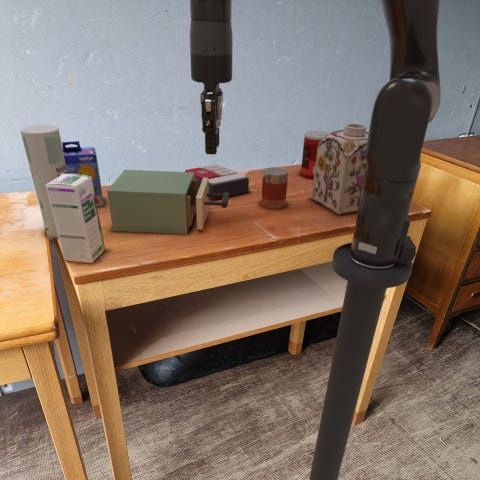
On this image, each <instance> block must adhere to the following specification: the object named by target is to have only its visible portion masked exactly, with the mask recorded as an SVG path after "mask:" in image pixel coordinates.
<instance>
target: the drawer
mask: <svg viewBox="0 0 480 480" xmlns="http://www.w3.org/2000/svg"><path fill="white" fill-rule="evenodd" d="M209 197H222V198H221V201H210V198H209ZM229 200H230V196H229V193H228V192H224V193H223V194H215V193H209V179H208V178H203V180H202V182H201V185H200V188H199V190H197V179H193V180H192V183H191V185H190V188H189V190H188V192H187V195H186V208H187V226H190V227H192V225H193V222H194V220H195V216H196V230H202V231H203V229H204V226H205V223H206V220H207V216H208V212H209V208H210V206H216V207H221V208H223V209H226V208H227V207H228V205H229Z"/></svg>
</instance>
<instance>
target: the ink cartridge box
mask: <svg viewBox="0 0 480 480" xmlns="http://www.w3.org/2000/svg"><path fill="white" fill-rule="evenodd" d="M61 143H62V149H63V154H64V159H65V164H66V169H67V174H82V175H88V176H91V178H92V183H93V188H94V193H95V198H96V203H97V208H99V207H104V205H105V202H104V201H105V199H104V196H103V189H102V183H101V175H100V168H99V163H98V157H97V151H96V148H95V147H93V146H92V147H91V146H89V147H88V146H87V147H86V146H85V147H81V145H80V141H79V140H76V141H61ZM70 145H74V146H70Z"/></svg>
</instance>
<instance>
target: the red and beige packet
mask: <svg viewBox="0 0 480 480" xmlns="http://www.w3.org/2000/svg"><path fill="white" fill-rule="evenodd" d="M184 172H194V178H195V179H197V191H199V188H200V185H201V182H202V180H203V178H208V179H209V193H215V194H223V193H224V192H228V193H229V197H232V196H238V195H241V194H246V193H249V191H250V184H249V183H250V179H249V177H248V176H246V175H245V174H241V173H238V171H236V170H233V169H230V168H228V167H225V166H222V165H220V164H218V163H217V164H211V165H205V166H202V167H201V166H199V167H195V168H194V167H193V168H189V169H185V170H184ZM219 199H222V197H209V200H213V201H214V200H219Z"/></svg>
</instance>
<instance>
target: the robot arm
mask: <svg viewBox="0 0 480 480" xmlns="http://www.w3.org/2000/svg"><path fill="white" fill-rule="evenodd" d="M379 2H380V5H381V9H382V13H383V18H384V21H385V25H386V29H387V32H388V39H389V53H390V56H389V78H388V82H386V83H385V84H384V85H382V87H381V88H380V90H379V91H378V93H377V95H376V96H375V100H374V103H373V106H372V111H371V115H370V120H369V121H370V123H369V126H368V127H369V128H368V132H369V134H368V140H367V147H366V160H367V165H366V171H365V177H364V182H363V187H362V193H361V198H360V203H359V208H358V211H357V214H356V219H355V226H354V230H353V234H352V241H351V243H352V245H351V251H350V253H349V258H350V260H351V261H352V262H353V263H355V264H356V265H358V266H361V267H364V268H367V269H372V270H386V269H390V268H392V267H399V264H400V260H404V261H405V263H406V262H407V261H412V262H413V261H414V258H415V256H416V255H417V253H416V250H417V246H416V244H415V243H414V242H413V241H414V240H412V238H411V236H410V235H408V233H409V229H410V225H411V220H410V219H409V215H410V210H411V208H412V207H411V206H412V202H413V200H414V195H415V191H416V187H417V183H418V179H419V176H420V172H421V168H422V160H421V156H422V152H423V151H422V150H423V147H424V142H425V139H426V134H427V130H428V126H429V124H430V123H431V122H432V121H433V120H434V118H435V117H436V115H437V114H438V111H439V109H440V106H441V102H442V89H441V78H440V64H439V50H438V26H439V15H440V3H441V0H379ZM232 4H233V3H232V0H189V12H190V13H189V14H190V27H189V56H190V79H191V80H192V81H193V82H195V83H202V84H203V90H201V93H200V94H199V97H200V99H199V100H200V101H199V102H200V107H201V110H200V113H201V123H202V124H201V125H202V127H201V130H202V133H203V134H204V152H205V154H206V155H217V153H218V147H219V146H220V127H221V123H222V122H221V121H222V117H223V116H222V115H223V101H224V91H223V90H222V88H221V87H220V84H227V83H230V82H232V80H233V46H234V45H233V43H234V42H233V40H234V39H233V36H234V35H233V27H232V26H233V25H232V8H233V7H232Z"/></svg>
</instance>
